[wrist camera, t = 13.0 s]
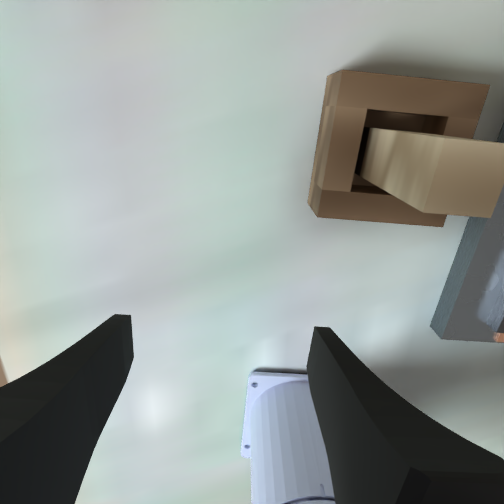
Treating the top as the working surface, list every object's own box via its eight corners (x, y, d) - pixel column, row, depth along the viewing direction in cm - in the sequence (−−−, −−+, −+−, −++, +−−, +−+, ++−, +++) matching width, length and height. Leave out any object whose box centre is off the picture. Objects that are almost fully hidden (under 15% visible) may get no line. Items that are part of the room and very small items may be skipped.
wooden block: (396, 176, 19) (490, 218, 12) (354, 172, 19) (423, 212, 12) (408, 130, 18) (518, 145, 11) (363, 126, 18) (445, 137, 11)
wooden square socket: (416, 211, 21) (442, 227, 18) (307, 202, 20) (317, 217, 18) (452, 88, 18) (490, 84, 15) (327, 76, 18) (342, 69, 15)
